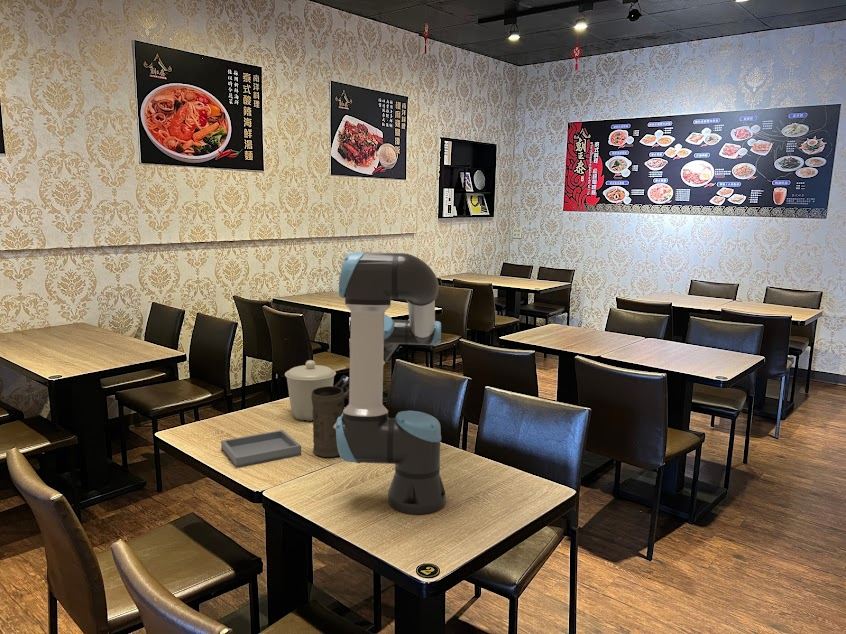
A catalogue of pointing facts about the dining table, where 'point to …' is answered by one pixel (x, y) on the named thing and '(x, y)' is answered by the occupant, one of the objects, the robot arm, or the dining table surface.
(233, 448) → the tray
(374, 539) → the dining table surface
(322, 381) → the canister
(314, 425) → the beer stein
